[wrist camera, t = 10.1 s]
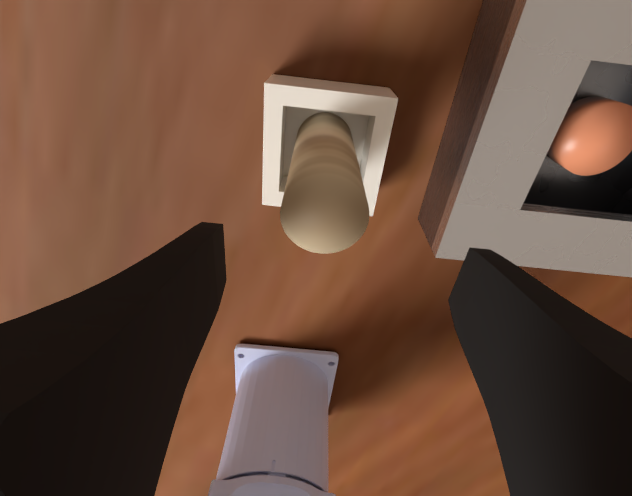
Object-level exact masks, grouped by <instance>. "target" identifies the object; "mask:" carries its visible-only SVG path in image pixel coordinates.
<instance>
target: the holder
mask: <svg viewBox="0 0 632 496" xmlns="http://www.w3.org/2000/svg"><path fill="white" fill-rule="evenodd" d="M397 103H398V97H397V96H396V95H395V94H394V93H393V91H392V90H391V89H390V88H388V87H379V86H371V85H362V84H353V83H345V82H336V81H328V80H319V79H310V78H302V77H293V76H285V75H276V74H272V75H271V76H270V77H269V78H268V80H267V81H266V82H265V83H264V130H263V183H262V205H270V206H280V207H281V204H282V200H283V195H284V191H285V186H286V182H287V177H288V173H289V169H290V164H291V160H292V155H293V151H294V146H295V142H296V137H297V133H298V130H299V128H300V126H301V124H302V123H303V122H304V121H305V120H306V119H307V118H308V117H310V116H311V115H313V114H316V113H320V112H329V113H333V114H336V115H338V116H339V117H341V118H342V119H343V120H344V121H345V122H346V123H347V125H348V126H349V128H350V131H351V134H352V138H353V142H354V147H355V151H356V155H357V159H358V164H359V168H360V172H361V176H362V181H363V185H364V189H365V193H366V198H367V202H368V206H369V216H373V213H374V208H375V204H376V199H377V195H378V190H379V185H380V181H381V176H382V172H383V167H384V162H385V158H386V153H387V149H388V144H389V139H390V135H391V130H392V126H393V121H394V116H395V112H396V107H397Z"/></svg>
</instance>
